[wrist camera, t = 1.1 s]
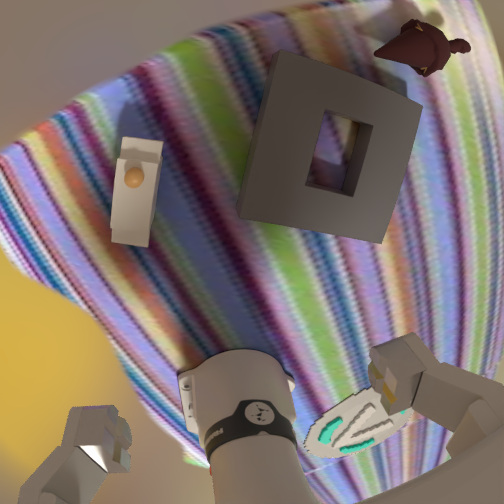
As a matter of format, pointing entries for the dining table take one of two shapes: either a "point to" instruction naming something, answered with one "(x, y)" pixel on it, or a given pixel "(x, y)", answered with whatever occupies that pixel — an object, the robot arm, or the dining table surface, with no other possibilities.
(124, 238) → the servo
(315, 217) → the grey board with hole
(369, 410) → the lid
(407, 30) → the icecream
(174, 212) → the dining table surface
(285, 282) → the dining table surface
